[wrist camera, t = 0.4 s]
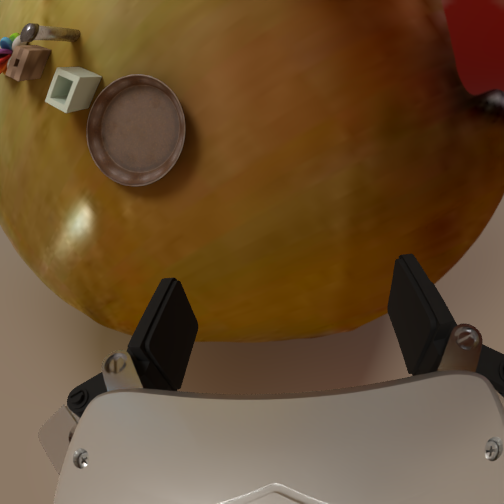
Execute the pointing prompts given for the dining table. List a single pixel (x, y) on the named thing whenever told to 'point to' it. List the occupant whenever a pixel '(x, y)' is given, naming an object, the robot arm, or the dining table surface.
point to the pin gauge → (48, 33)
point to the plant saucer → (136, 130)
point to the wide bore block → (72, 88)
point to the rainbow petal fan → (8, 50)
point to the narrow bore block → (27, 62)
